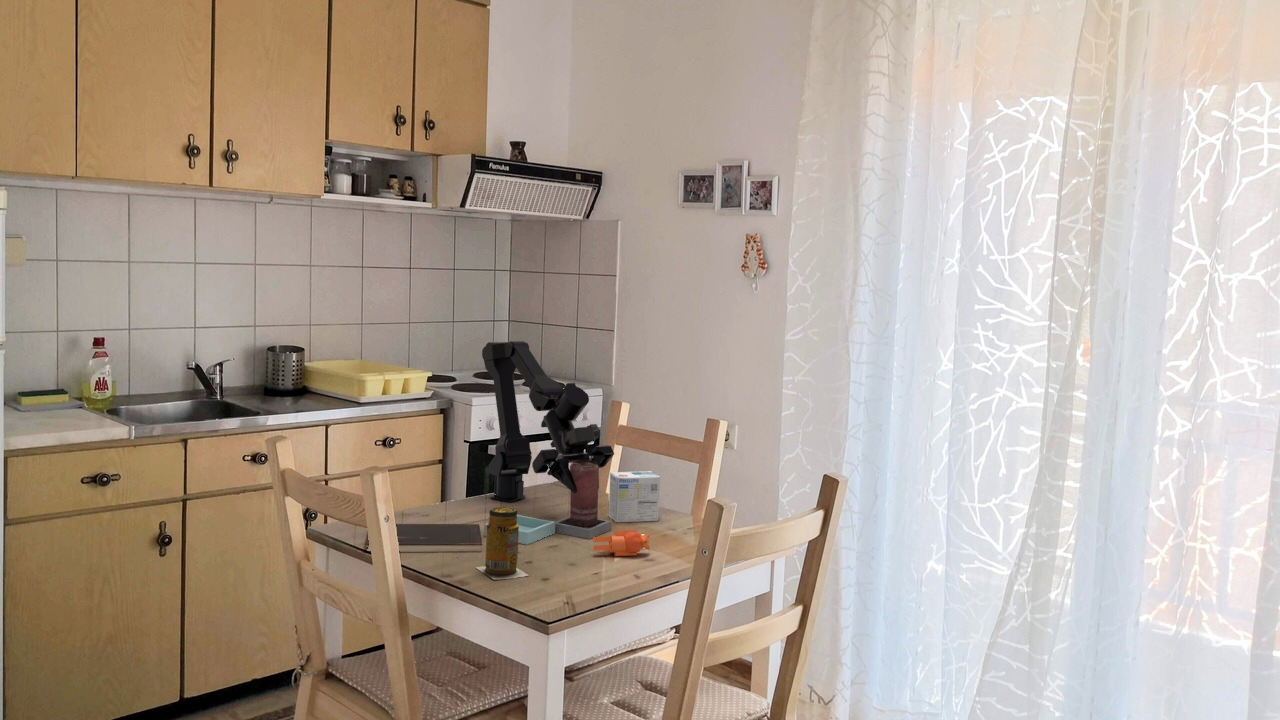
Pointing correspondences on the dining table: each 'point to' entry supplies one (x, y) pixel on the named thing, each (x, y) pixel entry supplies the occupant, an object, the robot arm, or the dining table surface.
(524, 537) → the tray
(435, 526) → the hardcover book
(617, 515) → the light bulb box
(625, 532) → the orange toy figure
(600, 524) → the grey square tray
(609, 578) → the dining table surface
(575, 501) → the can
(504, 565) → the condiment
